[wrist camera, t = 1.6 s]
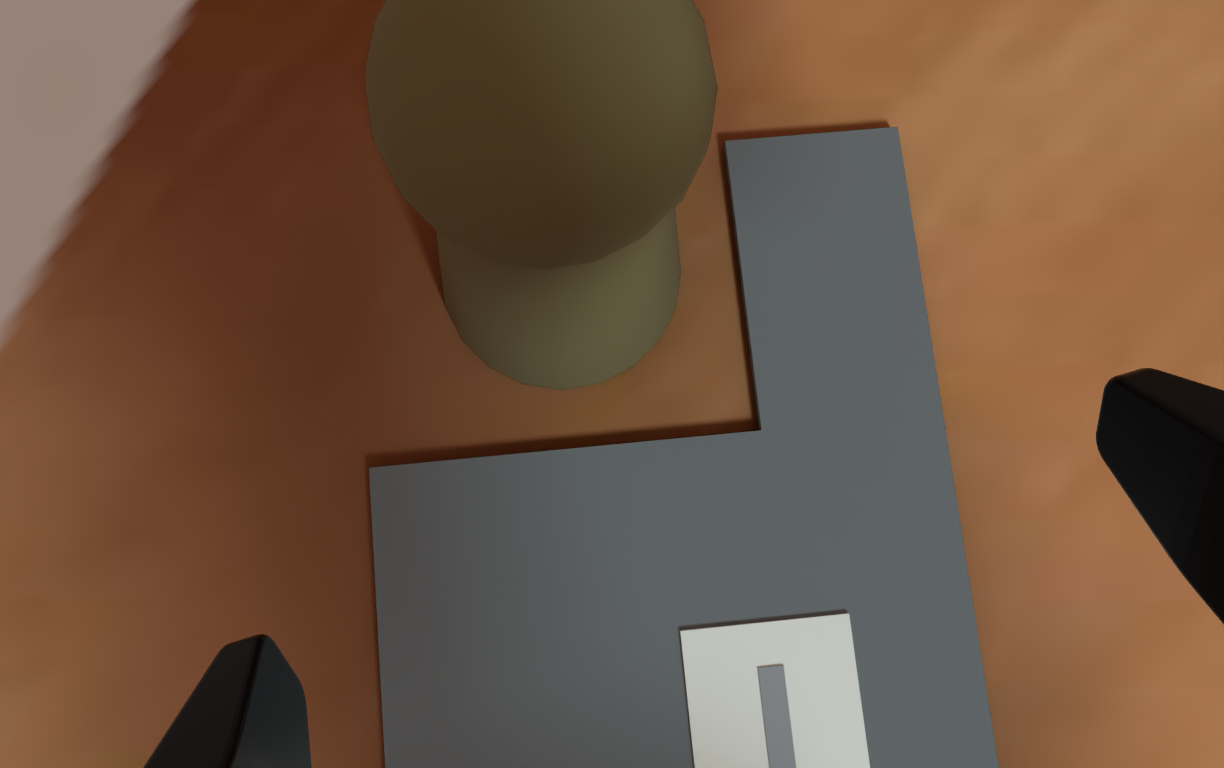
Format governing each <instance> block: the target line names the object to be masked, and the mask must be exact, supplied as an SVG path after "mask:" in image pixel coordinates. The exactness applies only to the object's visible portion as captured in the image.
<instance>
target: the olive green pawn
mask: <svg viewBox="0 0 1224 768" xmlns="http://www.w3.org/2000/svg"><path fill="white" fill-rule="evenodd" d="M365 88H366V96H367V103H368V111H369V118H370V126H371V133H372V139H373V141H374V143H375V145H376V147H377V149H378V151H379V153H380V155H381V157H382V159H383V161H384V162H385V164H386V166H387V168H388V170H389V172H390V174H391V176H392V178H393V180H394V182H395V184H396V186H397V188H398V189H399V191H400V193H401V194H402V196H403V198H404V199H405V201H406V202H407V203H408V204H409V205H411V206H412V207H413V208H414V209H415V210H416V211H417V212H418V213H419V214H420V215H421V216H422V217H423V218H424V219H425V220H426V221H427V222H428V223H429V224H430V225H431V226H432V227H433V228H434V229H435V230H436V235H437V244H438V253H439V262H440V271H441V278H442V285H443V292H444V299H445V306H446V309H447V311H448V313H449V315H450V317H451V319H452V321H453V323H454V325H455V327H456V329H457V331H458V333H459V335H460V337H461V339H462V341H463V342H464V343H465V344H466V345H467V346H468V347H469V348H470V349H471V350H472V351H473V352H474V353H475V354H476V355H477V356H478V357H479V358H480V359H482V360H483V361H484V362H485V363H486V364H487V365H488V366H489V367H490V368H492V369H494V370H496V371H498V372H500V373H502V374H504V375H506V376H508V377H510V378H512V379H514V380H516V381H518V382H520V383H522V384H526V385H533V386H540V387H546V388H553V389H560V390H563V389H569V388H575V387H581V386H587V385H594V384H599V383H601V382H603V381H605V380H607V379H609V378H611V377H613V376H615V375H617V374H619V373H621V372H623V371H625V370H627V369H629V368H631V367H633V366H634V365H635V364H636V363H637V362H638V361H639V360H640V359H641V358H642V357H643V356H644V355H645V354H646V353H647V352H648V351H649V350H650V349H651V348H652V347H653V346H654V345H655V344H656V343H657V342H658V341H659V340H660V338H661V336H662V334H663V332H664V330H665V328H666V326H667V324H668V322H669V320H670V318H671V316H672V314H673V312H674V310H675V308H676V302H677V295H678V288H679V281H680V273H681V267H680V257H679V246H678V236H677V226H676V215H675V206H676V205H677V204H678V203H679V202H680V201H681V200H682V199H683V197H684V195H685V193H686V191H687V189H688V187H689V185H690V183H691V181H692V179H693V177H694V175H695V173H696V171H697V169H698V167H699V165H700V163H701V162H702V160H703V158H704V156H705V153H706V150H707V147H708V144H709V142H710V138H711V131H712V124H713V116H714V109H715V102H716V95H717V83H716V78H715V73H714V68H713V63H712V58H711V53H710V48H709V43H708V38H707V33H706V29H705V24H704V20H703V18H702V16H701V15H700V13H699V11H698V9H697V8H696V6H695V4H694V2H693V1H692V0H386V2H385V4H384V5H383V7H382V9H381V10H380V12H379V14H378V15H377V17H376V19H375V24H374V29H373V34H372V38H371V43H370V48H369V53H368V58H367V62H366V67H365Z"/></svg>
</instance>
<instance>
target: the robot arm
mask: <svg viewBox="0 0 1224 768" xmlns="http://www.w3.org/2000/svg"><path fill="white" fill-rule="evenodd" d="M1096 442H1097V447H1098V450H1099V452H1100V455H1101V457H1102V458H1103V460H1104V462H1105V463H1106V464H1107V466H1108V467H1109V469H1110V470H1111V472H1112V473H1113V475H1114V476H1115V478H1116V479H1117V481H1118V482H1119V484H1120V485H1121V487H1122V488H1123V489H1124V491H1125V492H1126V494H1127V495H1128V497H1129V498H1130V500H1131V501H1132V503H1133V504H1134V506H1135V507H1136V509H1137V510H1138V512H1139V513H1140V514H1141V516H1142V517H1143V519H1144V520H1145V522H1146V523H1147V525H1148V526H1149V528H1150V529H1151V531H1152V532H1153V534H1154V535H1155V537H1156V538H1157V539H1158V541H1159V542H1160V544H1161V545H1162V547H1163V548H1164V550H1165V551H1166V553H1167V554H1168V556H1169V557H1170V558H1171V560H1172V561H1173V562H1174V564H1175V565H1176V567H1177V568H1178V569H1179V571H1180V572H1181V573H1182V575H1183V576H1184V577H1185V578H1186V580H1187V581H1188V582H1189V583H1190V584H1191V586H1192V587H1193V588H1194V589H1195V591H1196V592H1197V593H1198V594H1199V596H1200V597H1201V598H1202V599H1203V600H1204V601H1205V603H1206V604H1207V605H1208V606H1209V607H1210V609H1211V610H1212V611H1213V612H1214V613H1215V614H1216V616H1217V617H1218V618H1219V619H1220V620H1221V622H1222V623H1223V624H1224V391H1223V390H1220V389H1217V388H1214V387H1211V386H1207V385H1204V384H1201V383H1198V382H1195V381H1191V380H1188V379H1185V378H1182V377H1179V376H1175V375H1172V374H1169V373H1166V372H1163V371H1159V370H1156V369H1152V368H1143V369H1138V370H1135V371H1132V372H1128V373H1125V374H1122V375H1118V376H1115V377H1113V378H1111V379H1110V380H1109V381H1108V383H1107V384H1106V385H1105V388H1104V393H1103V398H1102V404H1101V409H1100V415H1099V420H1098V426H1097V431H1096ZM143 768H311V756H310V744H309V732H308V720H307V708H306V700H305V695H304V691H303V688H302V685H301V683H300V681H299V679H298V677H297V676H296V674H295V673H294V671H293V670H292V668H291V667H290V665H289V664H288V662H287V661H286V659H285V658H284V656H283V655H282V653H281V652H280V650H279V648H278V647H277V645H276V644H275V642H274V641H273V640H272V639H271V638H270V637H269V636H267V635H264V634H261V635H260V634H259V635H255V636H252V637H249V638H246V639H242V640H239V641H236V642H232V643H229V644H227V645H226V646H224V647H223V648H222V649H221V650H220V651H219V653H218V654H217V655H216V657H215V659H214V660H213V662H212V663H211V665H210V666H209V668H208V669H207V671H206V672H205V674H204V675H203V677H202V678H201V680H200V682H199V683H198V685H197V686H196V688H195V689H194V691H193V692H192V694H191V695H190V697H189V698H188V700H187V701H186V703H185V705H184V706H183V708H182V709H181V711H180V712H179V714H178V715H177V717H176V718H175V720H174V721H173V723H172V724H171V726H170V728H169V729H168V731H167V732H166V734H165V735H164V737H163V738H162V740H161V741H160V743H159V744H158V746H157V747H156V749H155V751H154V752H153V754H152V755H151V757H150V758H149V760H148V761H147V763H146V764H145V766H144V767H143Z"/></svg>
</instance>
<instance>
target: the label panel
mask: <svg viewBox="0 0 1224 768" xmlns="http://www.w3.org/2000/svg"><path fill="white" fill-rule="evenodd" d="M724 152H725V160H726V168H727V176H728V184H729V193H730V201H731V209H732V217H733V225H734V233H735V241H736V249H737V257H738V265H739V273H740V281H741V289H742V297H743V305H744V313H745V321H746V329H747V337H748V345H749V353H750V361H751V369H752V377H753V385H754V393H755V401H756V409H757V417H758V425H759V431H750V432H739V433H728V434H718V435H707V436H697V437H686V438H676V439H665V440H655V441H644V442H634V443H623V444H613V445H602V446H592V447H581V448H571V449H560V450H550V451H539V452H529V453H518V454H508V455H497V456H487V457H476V458H466V459H455V460H445V461H434V462H424V463H413V464H403V465H392V466H382V467H371V468H369V480H370V498H371V517H372V535H373V553H374V572H375V590H376V608H377V627H378V645H379V663H380V681H381V700H382V718H383V736H384V755H385V768H999V766H998V760H997V754H996V747H995V741H994V735H993V728H992V722H991V716H990V709H989V703H988V697H987V690H986V684H985V678H984V671H983V665H982V659H981V652H980V646H979V640H978V633H977V627H976V621H975V614H974V608H973V601H972V595H971V589H970V582H969V576H968V570H967V563H966V557H965V551H964V544H963V538H962V532H961V525H960V519H959V513H958V506H957V500H956V494H955V487H954V481H953V475H952V468H951V462H950V456H949V449H948V443H947V437H946V430H945V424H944V418H943V411H942V405H941V399H940V392H939V386H938V380H937V373H936V367H935V361H934V354H933V348H932V342H931V335H930V329H929V323H928V316H927V310H926V304H925V297H924V291H923V285H922V278H921V272H920V266H919V259H918V253H917V247H916V240H915V234H914V228H913V221H912V215H911V209H910V202H909V196H908V190H907V183H906V177H905V171H904V164H903V158H902V152H901V145H900V139H899V133H898V127H889V128H877V129H864V130H852V131H840V132H827V133H815V134H803V135H791V136H778V137H766V138H754V139H742V140H729V141H725V143H724Z"/></svg>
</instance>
